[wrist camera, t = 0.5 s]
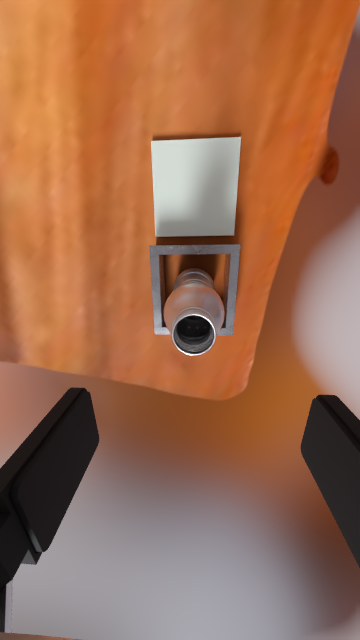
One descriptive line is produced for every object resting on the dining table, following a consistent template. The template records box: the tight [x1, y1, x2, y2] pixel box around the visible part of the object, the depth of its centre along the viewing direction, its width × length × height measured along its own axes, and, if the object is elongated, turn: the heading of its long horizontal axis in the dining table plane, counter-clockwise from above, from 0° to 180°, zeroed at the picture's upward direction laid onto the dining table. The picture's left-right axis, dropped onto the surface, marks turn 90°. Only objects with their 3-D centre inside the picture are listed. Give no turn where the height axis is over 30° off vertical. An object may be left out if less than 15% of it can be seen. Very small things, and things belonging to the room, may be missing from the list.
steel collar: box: [150, 244, 240, 335], centre depth 33 cm, size 13×12×5 cm
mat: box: [151, 137, 241, 237], centre depth 30 cm, size 12×12×1 cm
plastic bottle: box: [164, 268, 225, 355], centre depth 26 cm, size 6×7×20 cm
